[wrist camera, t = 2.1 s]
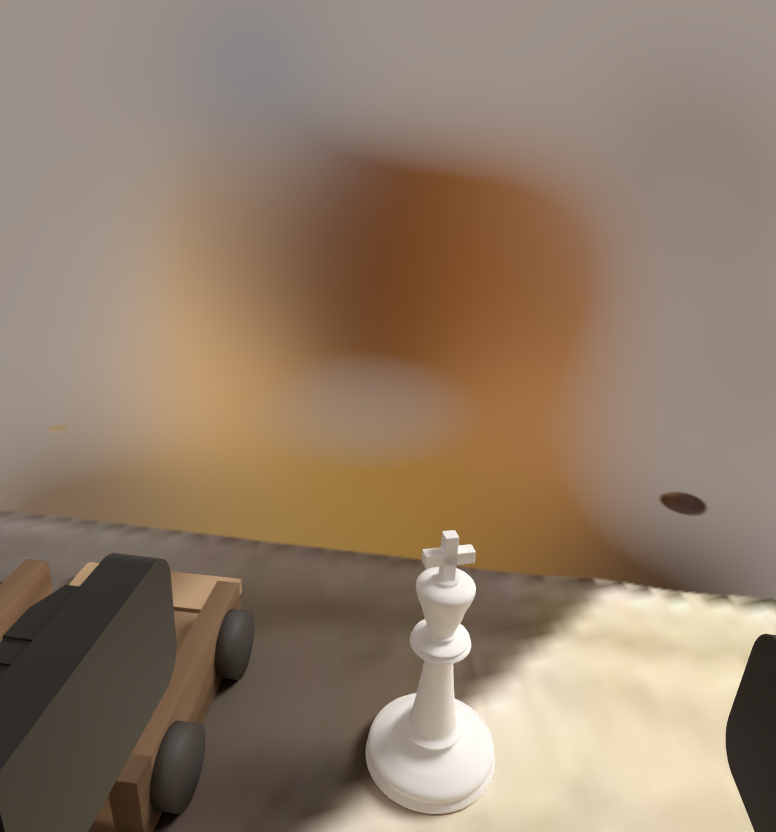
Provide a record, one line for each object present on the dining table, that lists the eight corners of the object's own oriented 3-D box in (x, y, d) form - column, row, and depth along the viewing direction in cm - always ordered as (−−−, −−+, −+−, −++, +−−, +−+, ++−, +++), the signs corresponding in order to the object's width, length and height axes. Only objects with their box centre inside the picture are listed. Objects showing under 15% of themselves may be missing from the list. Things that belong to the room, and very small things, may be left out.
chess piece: (354, 713, 28) (361, 501, 24) (469, 695, 29) (494, 490, 25) (380, 827, 23) (394, 591, 19) (515, 801, 24) (554, 572, 20)
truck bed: (276, 596, 34) (275, 546, 33) (170, 850, 22) (161, 787, 21) (57, 570, 35) (48, 521, 34) (-157, 801, 23) (-183, 738, 22)
